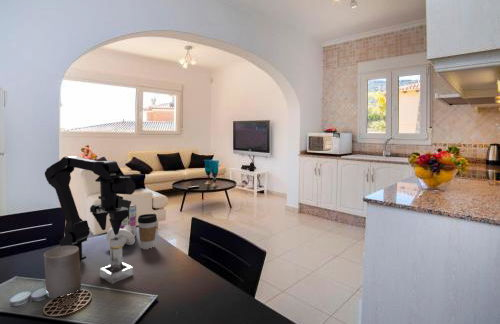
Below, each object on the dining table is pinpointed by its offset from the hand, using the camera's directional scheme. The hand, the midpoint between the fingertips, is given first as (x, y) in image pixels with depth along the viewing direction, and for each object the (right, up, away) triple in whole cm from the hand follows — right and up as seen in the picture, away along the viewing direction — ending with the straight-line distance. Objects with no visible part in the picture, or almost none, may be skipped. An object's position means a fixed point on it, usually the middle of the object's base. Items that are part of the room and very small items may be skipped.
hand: (110, 232), depth 115 cm
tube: (+6, -13, -8) cm, 17 cm away
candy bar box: (-8, -10, +33) cm, 36 cm away
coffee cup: (+8, -12, +20) cm, 24 cm away
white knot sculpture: (-5, -12, +20) cm, 24 cm away
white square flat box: (+6, -14, -8) cm, 18 cm away
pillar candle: (-6, -15, -19) cm, 25 cm away
